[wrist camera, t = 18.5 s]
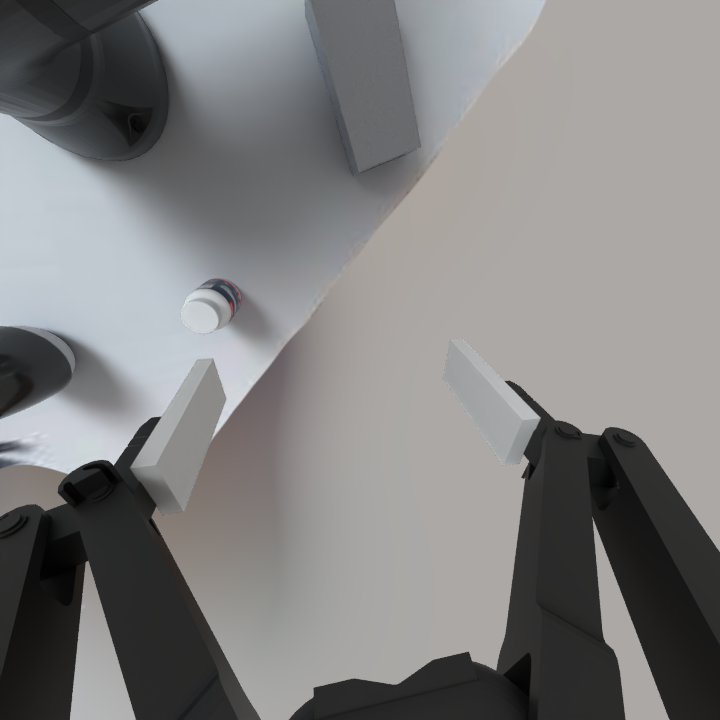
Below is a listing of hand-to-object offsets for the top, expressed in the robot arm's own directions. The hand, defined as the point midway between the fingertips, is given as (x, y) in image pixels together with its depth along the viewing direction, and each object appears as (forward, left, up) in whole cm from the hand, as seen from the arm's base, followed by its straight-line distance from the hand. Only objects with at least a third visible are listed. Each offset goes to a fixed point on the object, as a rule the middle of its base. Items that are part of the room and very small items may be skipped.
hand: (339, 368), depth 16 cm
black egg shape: (-39, -11, -28) cm, 49 cm away
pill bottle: (-14, -4, -28) cm, 32 cm away
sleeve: (+5, +19, -28) cm, 34 cm away
